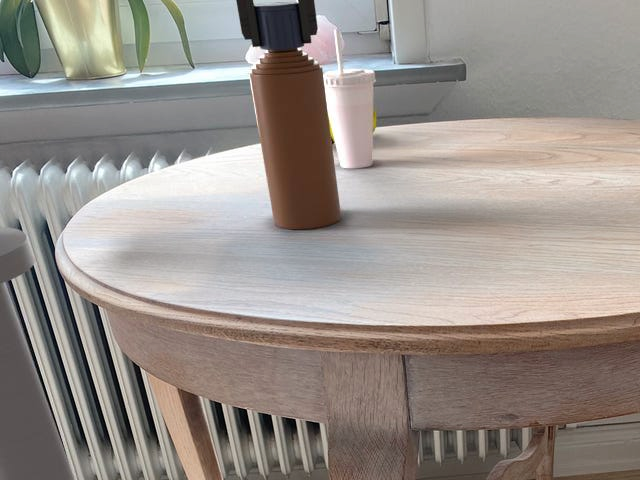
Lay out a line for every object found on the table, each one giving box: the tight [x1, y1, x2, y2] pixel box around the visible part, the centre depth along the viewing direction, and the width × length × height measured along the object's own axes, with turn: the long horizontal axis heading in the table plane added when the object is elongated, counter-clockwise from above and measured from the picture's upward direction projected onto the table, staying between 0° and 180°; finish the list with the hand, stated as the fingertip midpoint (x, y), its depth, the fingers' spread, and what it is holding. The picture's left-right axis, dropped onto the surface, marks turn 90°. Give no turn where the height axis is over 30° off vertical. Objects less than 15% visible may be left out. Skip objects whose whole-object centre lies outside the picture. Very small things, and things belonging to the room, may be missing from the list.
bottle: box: [248, 47, 342, 230], centre depth 80 cm, size 6×6×18 cm
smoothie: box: [323, 28, 377, 170], centre depth 99 cm, size 6×6×14 cm
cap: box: [254, 1, 305, 51], centre depth 76 cm, size 4×4×3 cm
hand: (282, 43), depth 76 cm, fingers closed on cap, 3 cm apart
